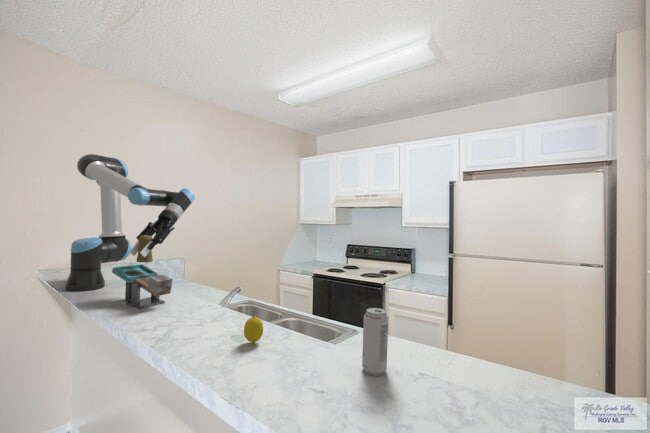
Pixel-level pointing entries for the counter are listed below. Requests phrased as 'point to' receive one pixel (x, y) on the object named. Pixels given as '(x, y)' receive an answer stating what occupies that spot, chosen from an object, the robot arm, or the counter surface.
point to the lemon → (253, 329)
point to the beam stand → (134, 297)
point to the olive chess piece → (143, 242)
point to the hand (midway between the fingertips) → (137, 254)
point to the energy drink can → (375, 341)
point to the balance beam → (145, 278)
